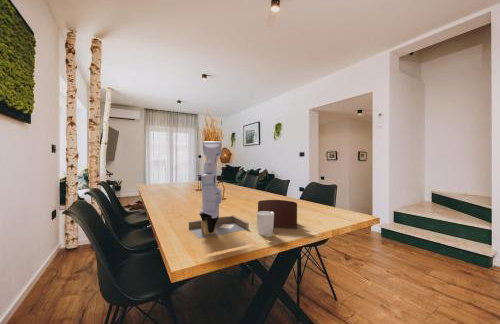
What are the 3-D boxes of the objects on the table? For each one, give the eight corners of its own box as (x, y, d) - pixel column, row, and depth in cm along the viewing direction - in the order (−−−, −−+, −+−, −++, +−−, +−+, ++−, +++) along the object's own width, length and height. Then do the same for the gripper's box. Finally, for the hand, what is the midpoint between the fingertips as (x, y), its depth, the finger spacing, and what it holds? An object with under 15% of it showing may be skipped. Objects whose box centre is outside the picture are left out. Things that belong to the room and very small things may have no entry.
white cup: (276, 234, 99) (277, 212, 99) (269, 239, 92) (269, 216, 92) (261, 231, 103) (261, 210, 103) (253, 236, 96) (253, 213, 96)
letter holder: (297, 229, 106) (297, 200, 106) (257, 226, 110) (257, 199, 110) (296, 223, 116) (296, 197, 116) (259, 221, 120) (260, 196, 119)
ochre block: (201, 231, 98) (201, 220, 98) (211, 230, 100) (211, 219, 100) (205, 235, 94) (205, 223, 94) (215, 233, 96) (216, 222, 96)
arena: (188, 230, 103) (188, 221, 103) (233, 222, 116) (233, 215, 116) (199, 240, 90) (199, 231, 90) (248, 231, 102) (248, 223, 102)
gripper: (195, 198, 101) (195, 227, 101) (205, 204, 89) (205, 236, 89) (209, 197, 105) (209, 225, 105) (221, 202, 92) (221, 234, 92)
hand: (208, 230), depth 97 cm, fingers open, 6 cm apart
